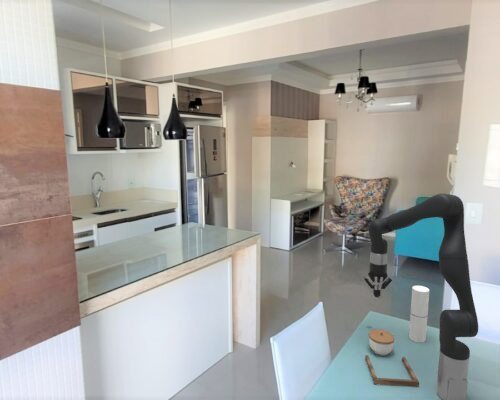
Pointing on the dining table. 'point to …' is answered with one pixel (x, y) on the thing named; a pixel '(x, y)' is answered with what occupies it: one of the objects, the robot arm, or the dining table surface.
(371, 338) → the lidded jar
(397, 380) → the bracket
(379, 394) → the dining table surface
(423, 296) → the cylindrical container
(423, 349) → the dining table surface
